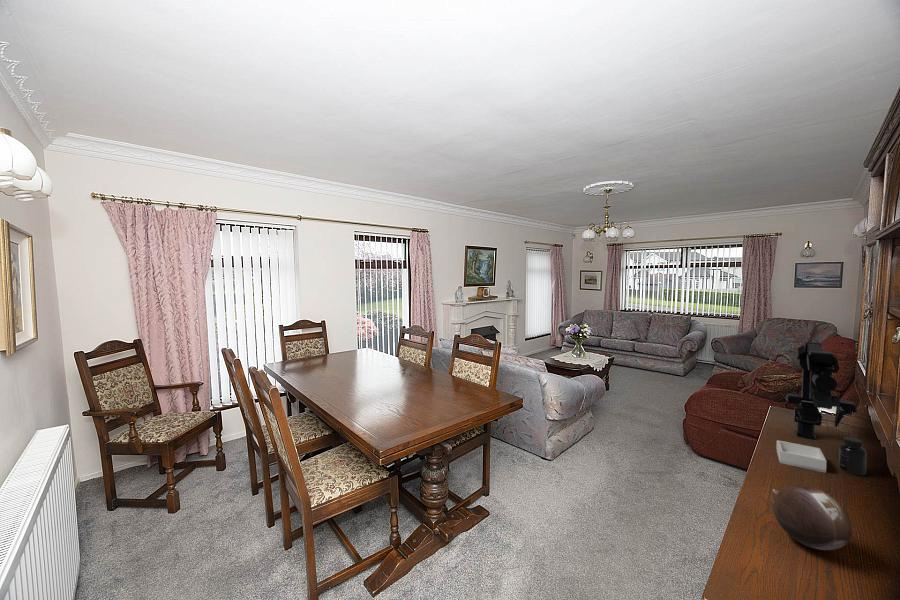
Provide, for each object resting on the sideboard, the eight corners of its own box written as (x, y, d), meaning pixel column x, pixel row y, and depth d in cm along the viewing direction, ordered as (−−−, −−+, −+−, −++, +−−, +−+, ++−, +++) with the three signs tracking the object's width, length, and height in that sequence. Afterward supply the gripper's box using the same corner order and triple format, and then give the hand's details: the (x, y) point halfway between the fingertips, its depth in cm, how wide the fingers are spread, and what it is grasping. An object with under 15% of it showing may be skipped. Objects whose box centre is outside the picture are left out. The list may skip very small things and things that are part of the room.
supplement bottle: (852, 466, 137) (854, 435, 136) (872, 476, 130) (873, 444, 129) (832, 466, 137) (834, 435, 137) (850, 475, 130) (852, 443, 130)
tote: (776, 450, 150) (776, 440, 150) (819, 459, 142) (819, 448, 142) (779, 462, 140) (780, 451, 140) (825, 472, 132) (826, 461, 132)
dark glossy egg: (825, 570, 88) (828, 511, 88) (759, 530, 103) (760, 479, 102) (865, 557, 92) (868, 500, 92) (796, 520, 107) (797, 471, 106)
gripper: (790, 385, 140) (788, 424, 140) (861, 394, 128) (860, 437, 129) (786, 379, 148) (785, 416, 149) (853, 386, 137) (851, 427, 138)
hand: (818, 423), depth 141 cm, fingers open, 9 cm apart
